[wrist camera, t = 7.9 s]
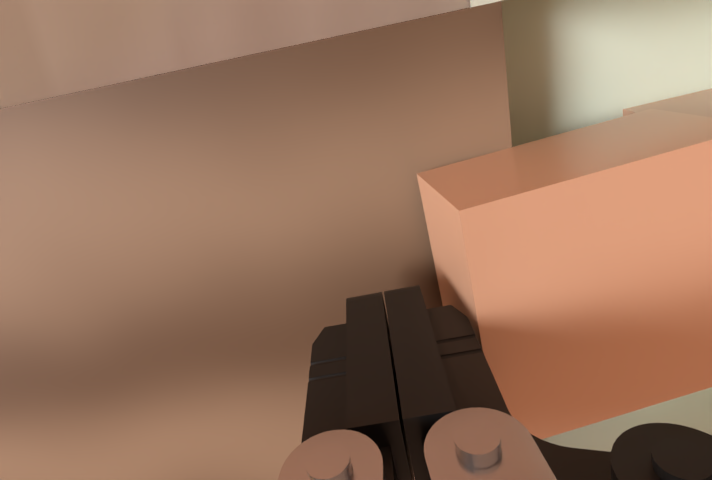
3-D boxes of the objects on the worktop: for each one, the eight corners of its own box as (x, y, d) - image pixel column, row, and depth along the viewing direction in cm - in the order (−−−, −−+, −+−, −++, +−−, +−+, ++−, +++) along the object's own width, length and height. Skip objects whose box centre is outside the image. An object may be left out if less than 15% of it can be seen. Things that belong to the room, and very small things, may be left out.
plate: (-202, 153, 12) (-330, 179, 10) (470, 8, 11) (501, 0, 9) (1, 470, 16) (-56, 541, 14) (507, 390, 15) (534, 453, 13)
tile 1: (416, 173, 10) (458, 210, 7) (651, 108, 10) (763, 125, 8) (456, 372, 12) (500, 452, 9) (652, 314, 12) (743, 377, 10)
